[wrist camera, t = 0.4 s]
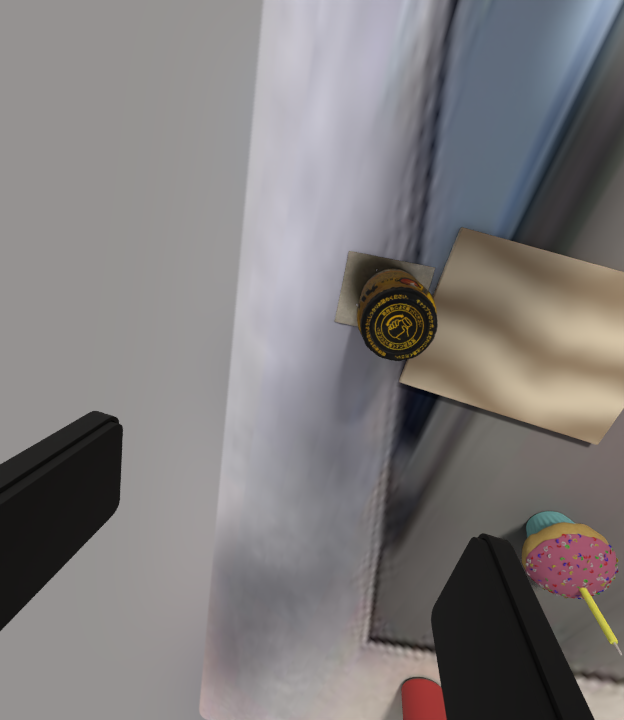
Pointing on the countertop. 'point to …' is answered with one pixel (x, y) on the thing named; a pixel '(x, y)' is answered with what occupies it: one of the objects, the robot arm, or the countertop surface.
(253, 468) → the countertop surface
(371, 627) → the countertop surface
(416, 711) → the beer can
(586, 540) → the cupcake
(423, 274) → the condiment
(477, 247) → the cutting board
